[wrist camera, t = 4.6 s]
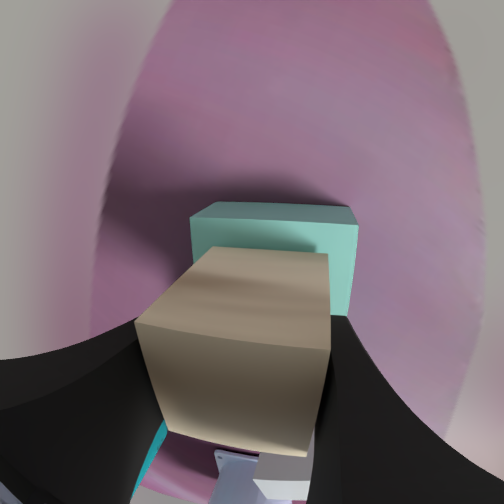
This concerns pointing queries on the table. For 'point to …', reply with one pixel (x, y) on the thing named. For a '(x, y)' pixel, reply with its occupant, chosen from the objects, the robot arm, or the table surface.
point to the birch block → (242, 348)
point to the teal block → (284, 236)
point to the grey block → (284, 475)
